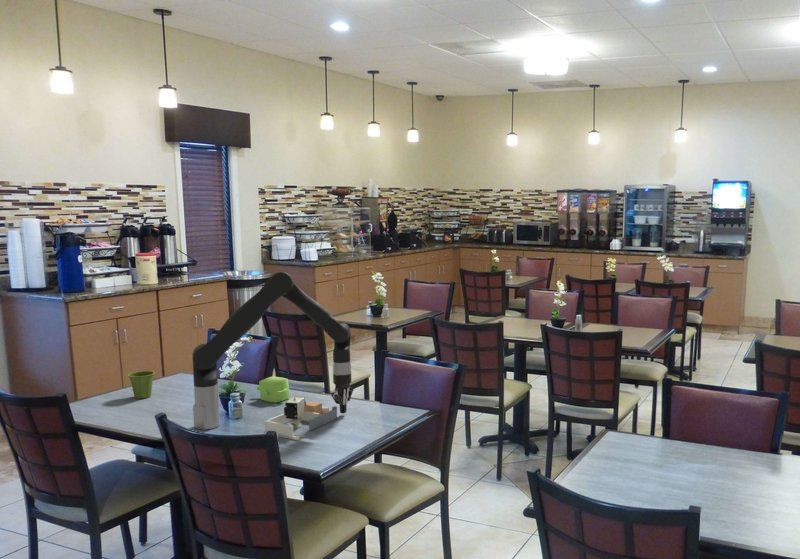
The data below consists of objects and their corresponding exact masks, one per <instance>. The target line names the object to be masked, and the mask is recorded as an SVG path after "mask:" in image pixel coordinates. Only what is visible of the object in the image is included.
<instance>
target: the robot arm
mask: <svg viewBox="0 0 800 559" xmlns="http://www.w3.org/2000/svg"><path fill="white" fill-rule="evenodd" d="M282 297H283V298H285V299H286V300H288V301H289V302H291V303H292V304H294V305H295V306H296V307H297V308H298V309H300V310H301V311H302V312H303V314H305V315H306V316H307V317H308V318H309V319H310V320H312V322H314V323H315V324H316V325H318V327H320V328H322V330H323V331H324V332H325V333H326V335H327V336H329V337H330V338H331V340H334V342H333V343H334V345H333V346H334V348H333V350H332V359H333V360H332V380H333V381H332V382H333V384H334V385H335V386H334V387H335V388H334V393H331V398H332V399H333V401H334V402H335V404H337V405H339V413H340V414H346V413H347V409H348V408H347V404H348V402H350V400H351V398H352V395H353V392H354V390H355V389H354V387H351V384H352V364H351V350H350V349H351V348H350V347H351V336H352V335H351V334H352V333H351V328H350V326H349V325H348V324H347V323H344V322H339V321H337V319H336V318H335V317H334V315H333V313H331V312H330V311H329V310H328V309H327V308H325V307H324V306H323V305H321V304H320V302H318V301H316V300H315V299H313V298H312V297H310V296H309V295H307V294H306V293H305V292H304V291H303V290H302V289H301V288H300V287H299V286H298V285H297V284H296V283H295V282H294V280H293V278H292V276H291V275H290V274H289V273H288V272H286V271H277V272H275V273H274V274H272V276H271V277H270V278H269V279H268V281H266V283H265V284H264V285H263V287H262V288H260V289H259V290H258V292H257V293H255V294H254V295H253V296H252V297H250V298H249V299H248V300H246V301H245V302H244V303H243V304H242V305H241V306H240V307H238V308H237V309H236V311H234V312H233V313H232V314H231V315H230V317H228V318H227V320H226V321H225V323H223V325H222V326H221V328H220V329H219V330H218V331H217V333H216V334H215V335H214V336H213V337H212V338H211V339H210V340H209V341H207V342H206V343H200V344H198V345H197V346H195V348H194V349H193V352H192V369H193V370H192V372H193V391H194V393H193V394H194V395H193V396H194V404H193V405H192V412H193V413H192V414H193V428H194V429H199V430H203V431H207V430H211V429H216V428H218V427H219V426H220V424H221V422H220V404H219V381H218V378H219V377H218V365H217V362H218V361H219V360H220V359H221V357H222V356H223V355H224V354H225V353H226V352H227V351H228V350H229V349H230V348H231V346H233V345H234V344H235V343H237V342H238V341H239V340H240V339H241V338H242V337H244V336H245V335H246V334H247V333H248V332H249V331H250V330H251V329H252V328H253V327H254V326H255V325H256V324H257V323H258V322H259V321H260V320H261V319H262V318H263V315H264V314H265V313H266V312H267V311H268V309H269V308H270V307H271V306H272V305H273V304H274V303H275V302H276V301H277V300H278V299H280V298H282Z"/></svg>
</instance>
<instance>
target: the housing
mask: <svg viewBox="0 0 800 559" xmlns="http://www.w3.org/2000/svg"><path fill="white" fill-rule="evenodd" d="M329 411H330V408H329V407H327V406H322V414H324V413H326V412H329ZM317 416H320V413H314V412H309V411H305V413H304V414H302V415H301V416H300V417H301V422H302V421H304V422H308V423H309V420H310V419H313V418H315V417H317ZM300 417H299V418H300ZM290 420H291V419H288V418H286V416H284V413H282V414H279V415H276V416H274V417H271V418H268V419H265V421H264V433H266V432H267V431H269V430H274V431H276V432H277V433H278V436H277V437H280V438H284V439H289V440H293V441H294V440H295V441H300V440H302V439H304V438H305V436H299V435H296V434H294V430H298V429H301V428H302V427H303V426H302V425H301V426H300V427H299V428H293V426H292V425H291V424H287V423H291V421H290Z"/></svg>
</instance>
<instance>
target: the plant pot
mask: <svg viewBox="0 0 800 559" xmlns="http://www.w3.org/2000/svg"><path fill="white" fill-rule="evenodd" d="M155 373H156V372H155V371H154V370H153V371H152V370H142V371H141V370H139V371H135V372H133V371H132V372H130V373H128V374H127V377H128V378H129V381H130V384H131V387H132V392H133V397H134V399H137V400H140V399H143V400H144V399H148V398H150V397H151V396H152V392H153V391H152V388H153V379H154V376H155Z"/></svg>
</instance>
